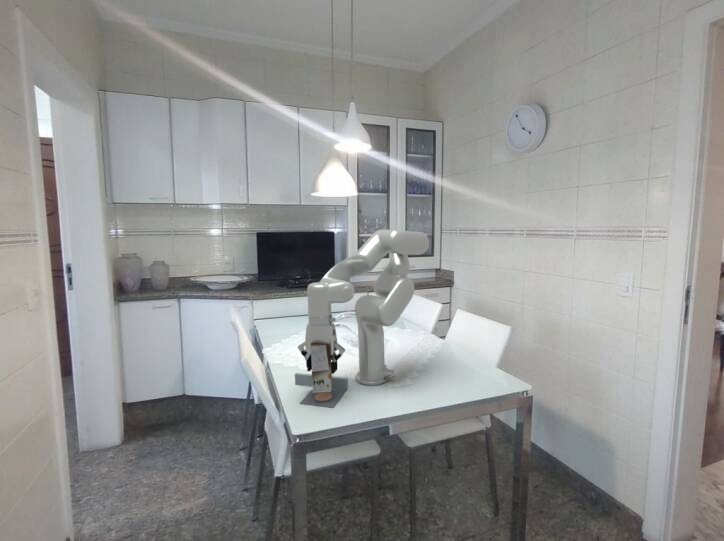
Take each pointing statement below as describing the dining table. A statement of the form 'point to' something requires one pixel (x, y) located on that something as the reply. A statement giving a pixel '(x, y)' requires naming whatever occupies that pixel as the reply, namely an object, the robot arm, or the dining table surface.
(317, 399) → the resting mat
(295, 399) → the dining table surface
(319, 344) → the coffee box
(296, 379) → the grey flat bar
